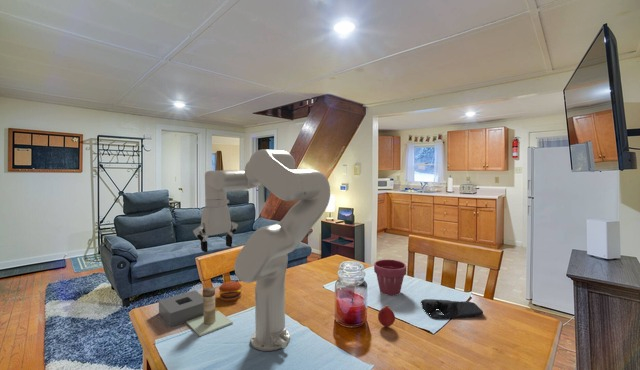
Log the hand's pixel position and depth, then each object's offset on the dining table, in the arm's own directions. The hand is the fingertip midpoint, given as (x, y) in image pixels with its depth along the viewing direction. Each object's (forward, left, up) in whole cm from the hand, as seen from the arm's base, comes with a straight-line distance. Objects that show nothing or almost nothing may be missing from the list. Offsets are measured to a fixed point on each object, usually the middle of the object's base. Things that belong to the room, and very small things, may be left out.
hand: (217, 248), depth 111 cm
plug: (-3, +5, -25) cm, 26 cm away
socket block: (+11, +9, -26) cm, 29 cm away
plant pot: (-33, -66, -26) cm, 78 cm away
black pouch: (-60, -68, -27) cm, 95 cm away
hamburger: (+12, -11, -26) cm, 31 cm away
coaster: (-3, +5, -26) cm, 27 cm away
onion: (-49, -39, -26) cm, 68 cm away
